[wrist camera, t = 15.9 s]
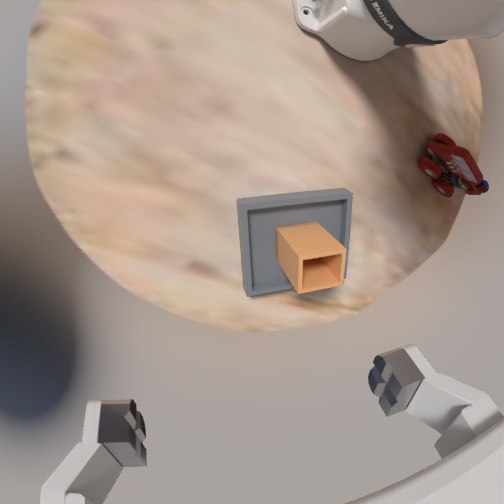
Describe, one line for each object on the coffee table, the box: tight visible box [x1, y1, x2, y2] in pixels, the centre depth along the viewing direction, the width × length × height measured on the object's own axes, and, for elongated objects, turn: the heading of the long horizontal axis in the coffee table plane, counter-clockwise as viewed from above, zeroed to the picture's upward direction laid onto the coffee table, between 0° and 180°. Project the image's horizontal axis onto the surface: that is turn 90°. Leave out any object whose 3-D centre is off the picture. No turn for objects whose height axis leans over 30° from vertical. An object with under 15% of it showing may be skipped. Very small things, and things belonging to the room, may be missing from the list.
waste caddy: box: [276, 222, 346, 294], centre depth 41 cm, size 6×5×9 cm
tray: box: [237, 188, 353, 297], centre depth 45 cm, size 16×14×2 cm
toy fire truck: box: [418, 133, 489, 197], centre depth 41 cm, size 7×12×10 cm, turn 54°
